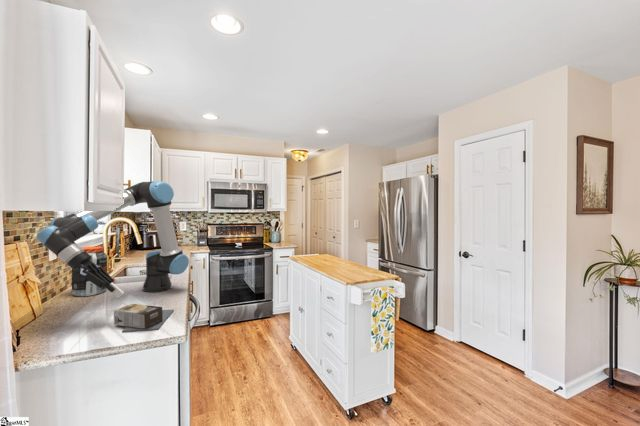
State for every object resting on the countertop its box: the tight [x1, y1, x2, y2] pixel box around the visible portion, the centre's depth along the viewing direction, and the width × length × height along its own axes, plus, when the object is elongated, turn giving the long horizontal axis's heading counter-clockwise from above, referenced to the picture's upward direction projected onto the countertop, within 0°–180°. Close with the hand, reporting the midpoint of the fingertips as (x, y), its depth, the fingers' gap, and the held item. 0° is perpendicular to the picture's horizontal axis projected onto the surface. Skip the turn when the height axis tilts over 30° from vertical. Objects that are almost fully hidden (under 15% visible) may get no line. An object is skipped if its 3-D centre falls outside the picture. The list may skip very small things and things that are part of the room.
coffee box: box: [113, 303, 163, 329], centre depth 120 cm, size 9×6×16 cm
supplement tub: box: [71, 245, 108, 297], centre depth 163 cm, size 16×16×26 cm
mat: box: [121, 308, 175, 333], centre depth 125 cm, size 22×13×1 cm, turn 12°
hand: (121, 295), depth 122 cm, fingers closed
